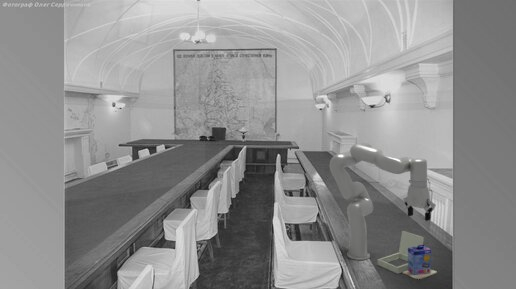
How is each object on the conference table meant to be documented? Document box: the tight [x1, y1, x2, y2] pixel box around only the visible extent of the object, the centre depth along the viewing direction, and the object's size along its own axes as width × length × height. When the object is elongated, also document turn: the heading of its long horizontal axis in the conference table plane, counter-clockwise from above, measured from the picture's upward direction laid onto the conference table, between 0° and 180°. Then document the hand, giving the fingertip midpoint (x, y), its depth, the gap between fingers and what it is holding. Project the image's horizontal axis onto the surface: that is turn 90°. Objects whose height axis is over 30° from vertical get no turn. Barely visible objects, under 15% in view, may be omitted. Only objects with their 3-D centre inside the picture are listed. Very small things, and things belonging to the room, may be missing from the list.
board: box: [402, 269, 437, 281], centre depth 177 cm, size 9×14×1 cm, turn 119°
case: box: [377, 230, 425, 274], centre depth 187 cm, size 13×21×15 cm, turn 119°
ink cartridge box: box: [407, 244, 432, 275], centre depth 176 cm, size 10×6×14 cm, turn 103°
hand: (418, 217), depth 175 cm, fingers open, 9 cm apart
